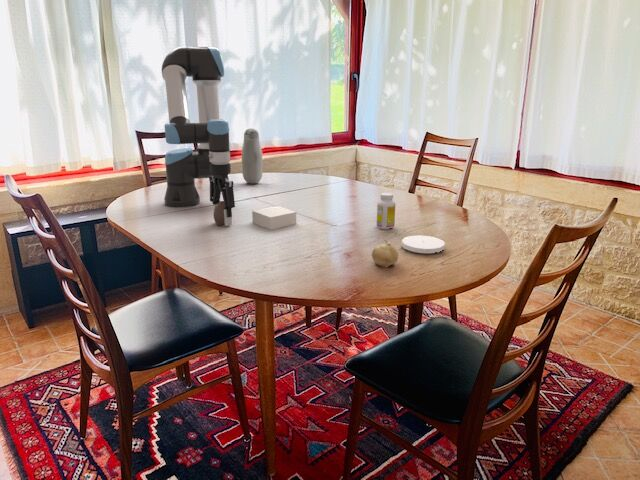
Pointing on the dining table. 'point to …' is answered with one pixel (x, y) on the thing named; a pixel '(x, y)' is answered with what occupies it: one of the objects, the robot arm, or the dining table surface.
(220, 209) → the vase
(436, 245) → the plastic lid
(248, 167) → the grey-green rounded cylinder
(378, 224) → the supplement bottle
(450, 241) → the dining table surface
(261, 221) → the riser block
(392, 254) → the onion
